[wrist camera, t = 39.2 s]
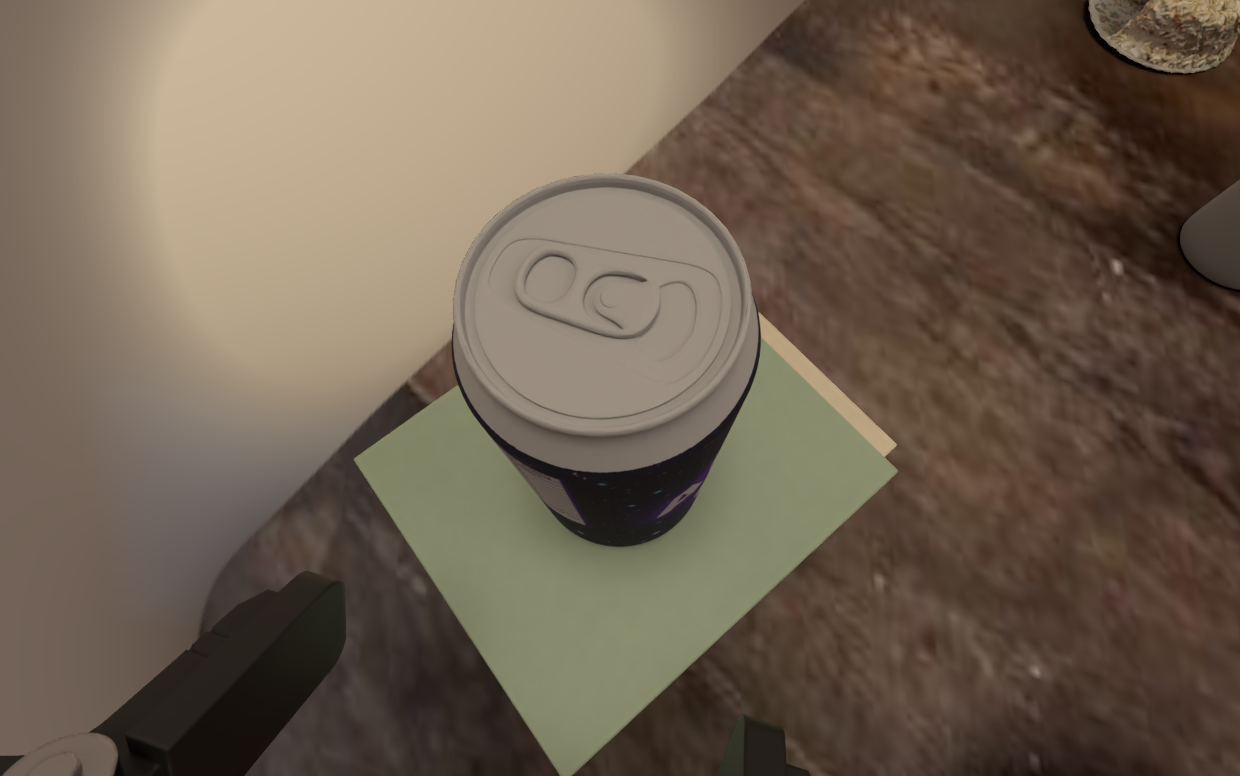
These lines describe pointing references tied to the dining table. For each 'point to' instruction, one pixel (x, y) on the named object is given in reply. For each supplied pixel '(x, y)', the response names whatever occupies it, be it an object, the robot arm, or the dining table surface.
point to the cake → (1169, 31)
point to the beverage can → (607, 348)
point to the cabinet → (617, 553)
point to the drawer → (826, 388)
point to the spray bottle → (1215, 238)
